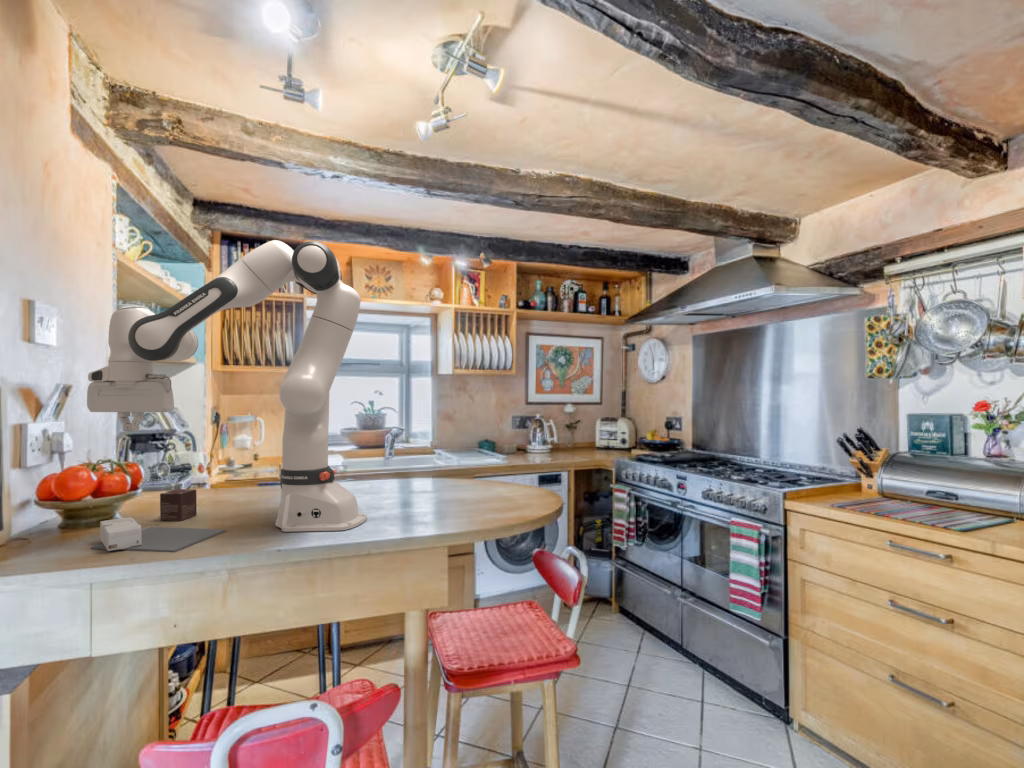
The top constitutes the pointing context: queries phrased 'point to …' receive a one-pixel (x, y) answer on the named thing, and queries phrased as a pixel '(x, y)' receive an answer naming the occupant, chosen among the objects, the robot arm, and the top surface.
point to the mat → (169, 538)
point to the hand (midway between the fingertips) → (130, 431)
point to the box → (178, 505)
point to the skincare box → (120, 533)
